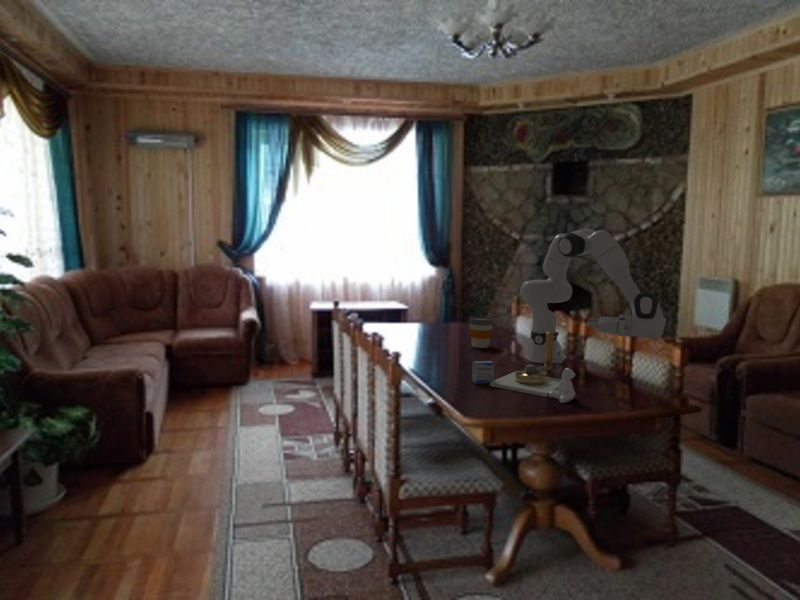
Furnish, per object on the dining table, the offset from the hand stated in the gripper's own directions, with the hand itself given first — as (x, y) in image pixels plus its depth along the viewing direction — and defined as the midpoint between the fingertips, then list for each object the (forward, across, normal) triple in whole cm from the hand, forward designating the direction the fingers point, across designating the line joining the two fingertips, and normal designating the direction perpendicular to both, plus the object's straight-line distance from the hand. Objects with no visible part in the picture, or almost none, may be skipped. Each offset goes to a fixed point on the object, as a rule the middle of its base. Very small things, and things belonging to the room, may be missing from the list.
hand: (586, 322), depth 251 cm
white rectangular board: (+20, +13, +25) cm, 35 cm away
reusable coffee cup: (+55, -56, +25) cm, 82 cm away
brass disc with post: (+18, +9, +24) cm, 31 cm away
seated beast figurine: (+6, +28, +26) cm, 38 cm away
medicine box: (+39, +17, +25) cm, 50 cm away
